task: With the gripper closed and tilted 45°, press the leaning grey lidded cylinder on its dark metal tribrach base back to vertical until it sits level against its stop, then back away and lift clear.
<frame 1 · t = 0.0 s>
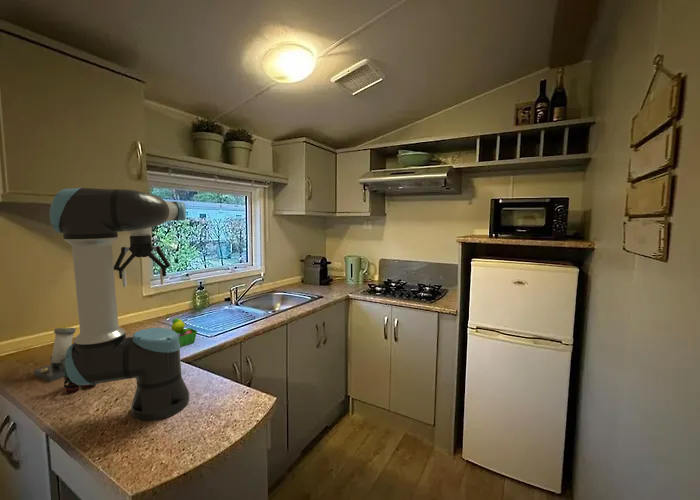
hand: (144, 285, 138), 28 cm above the worktop, tool pointing down, fingers open, 13 cm apart
grey lidded cylinder: (62, 344, 121), point 10 cm above the worktop, hinge at 12.0°
tribrach base: (61, 371, 121), on the worktop
fruit basket: (181, 344, 147), on the worktop
binoculars: (82, 388, 110), on the worktop
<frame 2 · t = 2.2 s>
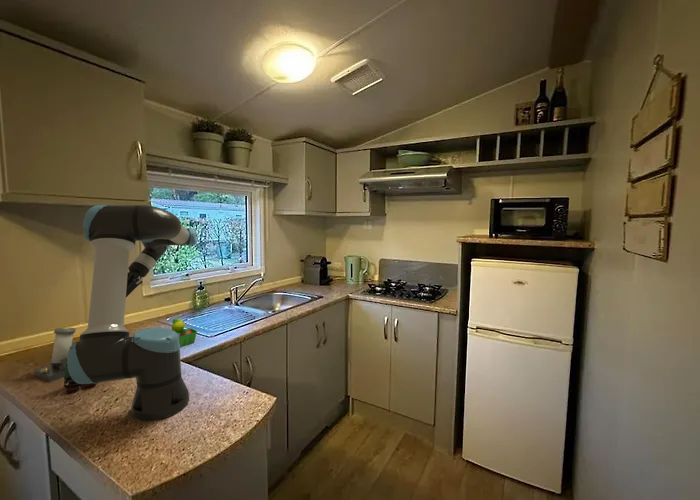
hand: (104, 312, 133), 18 cm above the worktop, tool tilted 45°, fingers closed
nothing on the worktop moved.
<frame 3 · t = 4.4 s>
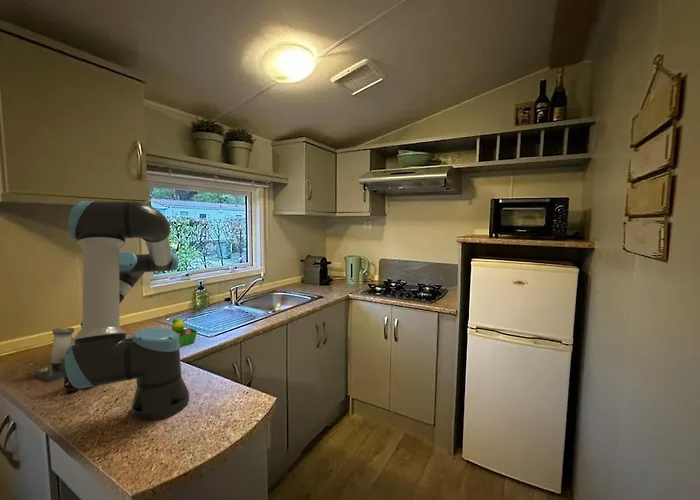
hand: (73, 345, 124), 8 cm above the worktop, tool tilted 45°, fingers closed
grey lidded cylinder: (61, 344, 121), point 10 cm above the worktop, hinge at 9.4°, touching gripper
everything else where it was.
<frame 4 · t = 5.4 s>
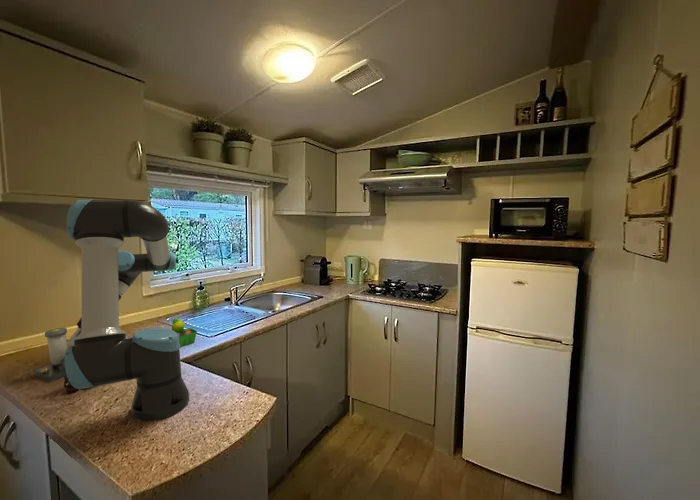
hand: (70, 345, 123), 9 cm above the worktop, tool tilted 45°, fingers closed
grey lidded cylinder: (57, 345, 119), point 10 cm above the worktop, hinge at -1.4°, touching gripper
everything else where it was.
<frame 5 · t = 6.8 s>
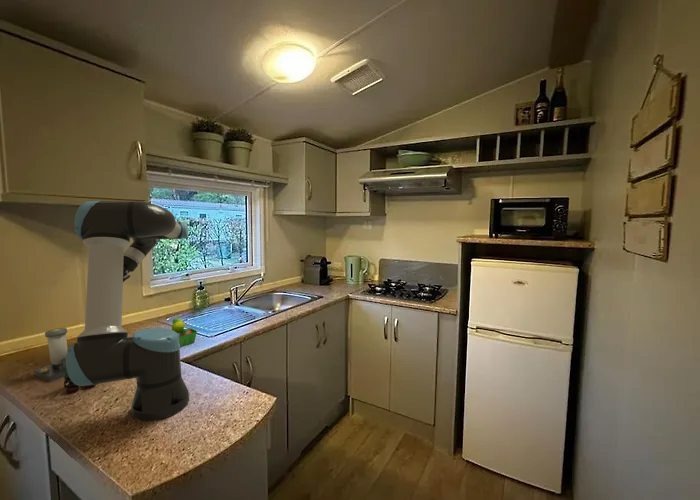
hand: (89, 307, 128), 21 cm above the worktop, tool tilted 45°, fingers closed
grey lidded cylinder: (57, 345, 119), point 10 cm above the worktop, hinge at -1.1°
everything else where it was.
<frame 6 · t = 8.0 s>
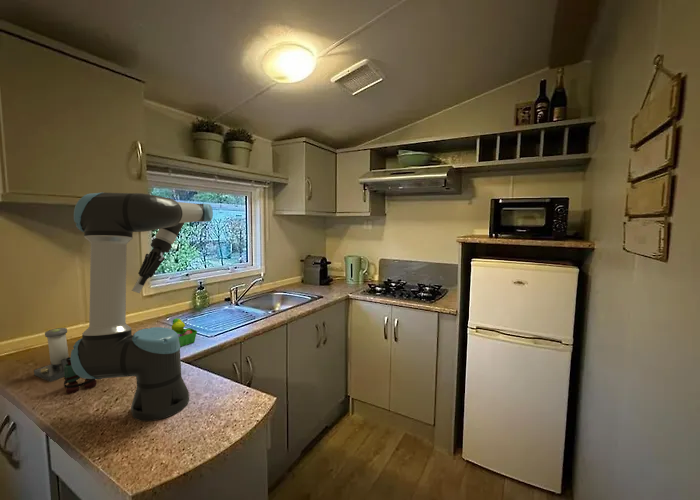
hand: (135, 291, 135), 26 cm above the worktop, tool tilted 30°, fingers closed
nothing on the worktop moved.
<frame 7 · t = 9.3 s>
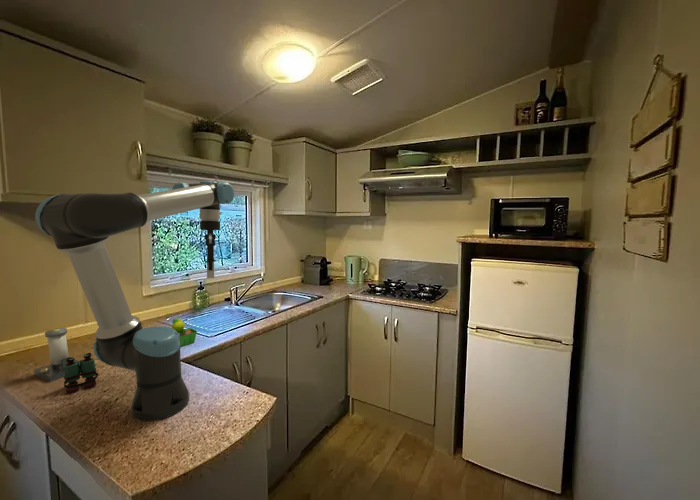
hand: (210, 277, 134), 32 cm above the worktop, tool pointing down, fingers closed
nothing on the worktop moved.
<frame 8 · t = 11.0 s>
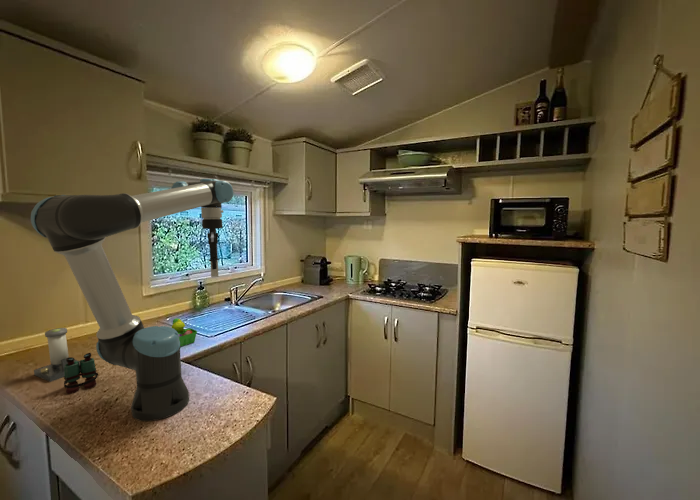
hand: (214, 276, 134), 32 cm above the worktop, tool pointing down, fingers closed
nothing on the worktop moved.
at the end: grey lidded cylinder at -1° (first picture: +12°); the gripper is holding nothing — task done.
